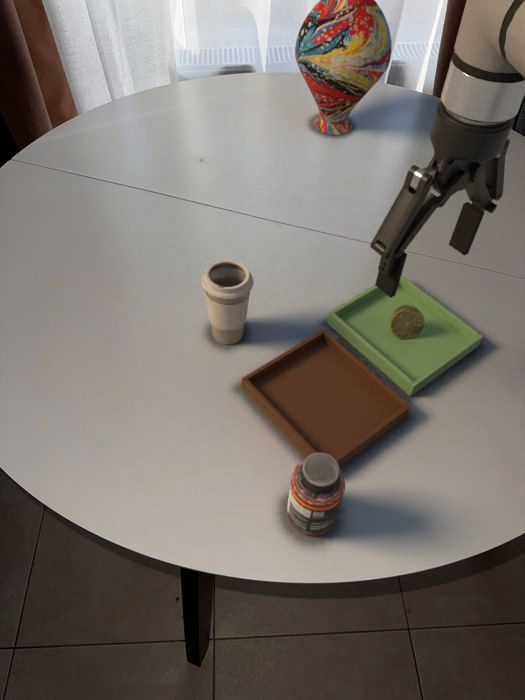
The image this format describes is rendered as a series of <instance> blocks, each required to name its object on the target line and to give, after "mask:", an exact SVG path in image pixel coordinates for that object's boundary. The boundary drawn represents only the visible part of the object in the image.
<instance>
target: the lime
mask: <svg viewBox="0 0 525 700" xmlns="http://www.w3.org/2000/svg"><path fill="white" fill-rule="evenodd" d="M423 327H424V316H423V314H422V313H421V312H420V311H419V309H418V308H416V307H415V306H409V305H404V306H400V307H398V308H397V309H396V310H395V311H394V312H393V313H392V315H391V317H390V328H391V330H392V332H393V334H394V335H395V336H396V337H398V338H400V339H407V338H410V337H413V336H415V335H417V334H418V333H420V332H421V330H422V329H423Z"/></svg>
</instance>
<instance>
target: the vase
mask: <svg viewBox="0 0 525 700" xmlns="http://www.w3.org/2000/svg"><path fill="white" fill-rule="evenodd" d="M392 44H393V43H392V36H391V30H390V27H389V24H388V21H387V18H386V16H385V14H384V12H383V10H382V8H381V7H380V5H379V3H377V1H376V0H319V1H318V2H317V3H316V4H315V5H314V6H313V7H312V8H311V10H310V11H309V12H308V14H307V16H306V17H305V18H304V20H303V22H302V24H301V26H300V29H299V30H298V33H297V37H296V41H295V48H294V58H295V62H296V65H297V67H298V69H299V71H300V74H301V76H302V77H303V79H304V81H305V83H306V85H307V87H308V89H309V91H310V94H311V95H312V98H313V99H314V101H315V103H316V106H317V108H318V112H319V116H318V117H315V119H314V120H313V122H312V124H313V127H314V128H315V129H316V130H317V131H319V132H321V133H322V134H325V135H332V136H340V135H345V134H347V133H349V132H350V131H351V130H352V128H353V124H352V123H351V121H350V120H349V119H348V118H349V116H350V115H351V112H352V111H353V110H354V108H356V106H357V105H358V104H359V103H360V102H361V100H362V99H363V98H364V97H365V96H366V95H367V94H368V93H369V92H370V90H371V89H372V88H373V87H374V86H375V85H376V84H377V82H378V81H379V80H380V79H381V78H382V77H383V75H384V74H385V73H386V71H387V70H388V68H389V66H390V62H391V57H392V50H393V49H392Z"/></svg>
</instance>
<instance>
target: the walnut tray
mask: <svg viewBox="0 0 525 700" xmlns="http://www.w3.org/2000/svg"><path fill="white" fill-rule="evenodd" d="M240 386H241V390H242V392H244V393H245V395H247V396H248V398H250V400H251V401H252V402H253V403H254V404H255V405H256V406H257V407H258V408H259V410H261V411H262V412H263V414H265V416H266V417H267V418H268V419H269V420H270V421H271V423H272V424H273V425H275V426H276V428H277V429H278V430H279V431H280V432H281V433H282V434H283V436H284V437H286V439H287V440H288V441H289V442H290V443H291V444H292V445H293V446H294V447H295V448H296V449H297V451H299V452H300V454H301V455H302V456H303V457H304V458H305V459H306V458H307V457H308V456H309V455H311V454H313V453H319V452H321V453H327V454H329V455H331V456H332V457H333V458H334V459H335V460H336V461H337V462H338V464H339V467H340V468H341V467H342V466H343V465H345V464H346V463H347V462H349V461H350V460H352V459H353V458H354V457H355V456H357V455H358V454H359V453H360V452H362V451H363V450H364V449H366V448H367V447H368V446H369V445H371V444H372V443H373V442H375V441H376V440H378V439H379V438H380V437H381V436H383V435H384V434H386V433H387V432H388V431H390V430H391V429H392V428H394V427H395V426H396V425H398V424H399V423H400V422H402V421H404V419H406V418H407V417H408V416H409V413H410V410H411V408H412V406H411V405H410V404H409V403H407V402H406V400H404V399H403V398H402V396H400V395H398V393H396V392H395V391H394V389H392V388H391V387H390V386H389V385H388V384H387V383H385V382H384V381H383V380H382V379H380V378H379V376H377V375H376V373H374V372H373V371H372V370H371V369H369V367H368V366H366V365H365V364H364V363H363V362H362V361H361V360H360V359H358V358H357V357H356V356H355V355H354V354H353V353H352V352H350V351H349V349H347V348H346V347H345V346H344V345H343V344H342V343H341V342H340V341H338V340H337V339H336V338H335V337H334V336H333V335H332V334H330V332H328V331H327V330H326V329H325V328H323V329H321V330H320V331H318V332H316V333H315V334H312V335H311V336H309V337H307V338H306V339H305V340H303V341H301V342H300V343H298V344H296V345H294V346H293V347H291V348H290V349H288V350H286V351H285V352H283V353H281V354H280V355H278V356H276V357H274V358H273V359H271V360H270V361H268V362H266V363H264V364H263V365H261V366H260V367H258V368H257V369H255V370H253V371H251V372H250V373H248V374H246V375H244V376H243V377H241V385H240Z"/></svg>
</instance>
